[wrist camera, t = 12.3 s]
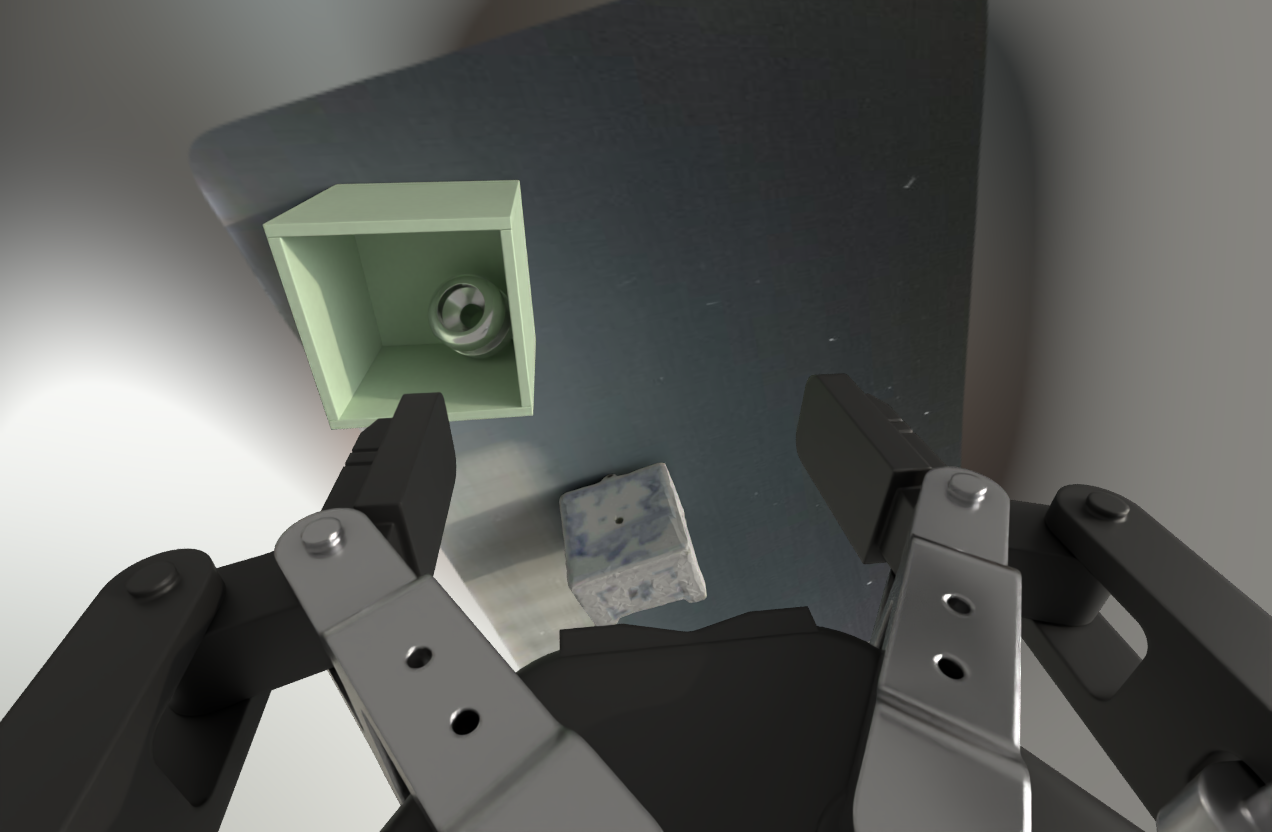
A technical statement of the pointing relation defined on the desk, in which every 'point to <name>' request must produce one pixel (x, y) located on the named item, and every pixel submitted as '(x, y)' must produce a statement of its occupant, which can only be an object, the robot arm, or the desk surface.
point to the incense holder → (628, 545)
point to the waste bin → (404, 295)
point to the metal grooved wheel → (470, 316)
